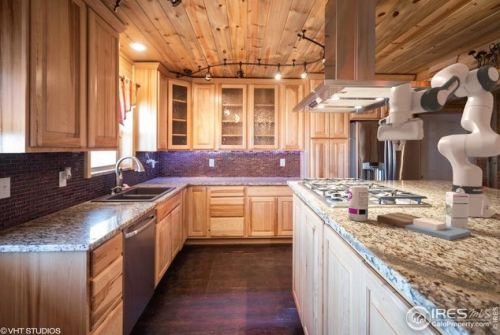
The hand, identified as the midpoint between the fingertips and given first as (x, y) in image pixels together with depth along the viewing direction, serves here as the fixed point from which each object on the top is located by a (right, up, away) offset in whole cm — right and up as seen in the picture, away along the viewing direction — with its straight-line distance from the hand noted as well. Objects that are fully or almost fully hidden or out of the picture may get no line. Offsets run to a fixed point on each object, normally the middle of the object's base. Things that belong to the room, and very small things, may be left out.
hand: (398, 150), depth 124 cm
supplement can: (-19, -31, -1) cm, 37 cm away
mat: (+4, -32, -19) cm, 38 cm away
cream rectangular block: (+3, -31, -17) cm, 35 cm away
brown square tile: (-2, -32, -7) cm, 32 cm away
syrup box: (+14, -32, -15) cm, 39 cm away
